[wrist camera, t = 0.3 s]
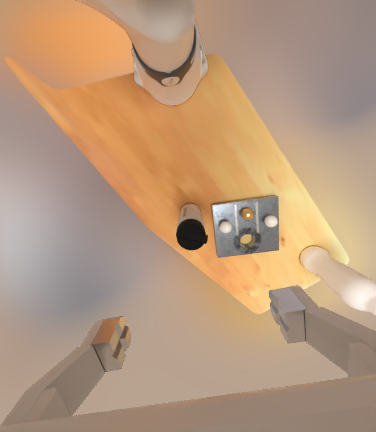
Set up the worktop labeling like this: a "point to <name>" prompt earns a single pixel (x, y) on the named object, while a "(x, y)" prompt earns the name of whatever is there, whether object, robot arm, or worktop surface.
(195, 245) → the travel mug
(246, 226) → the plate
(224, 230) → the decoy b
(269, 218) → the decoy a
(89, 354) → the robot arm
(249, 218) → the brass ball
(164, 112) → the worktop surface
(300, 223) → the worktop surface
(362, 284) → the bottle
